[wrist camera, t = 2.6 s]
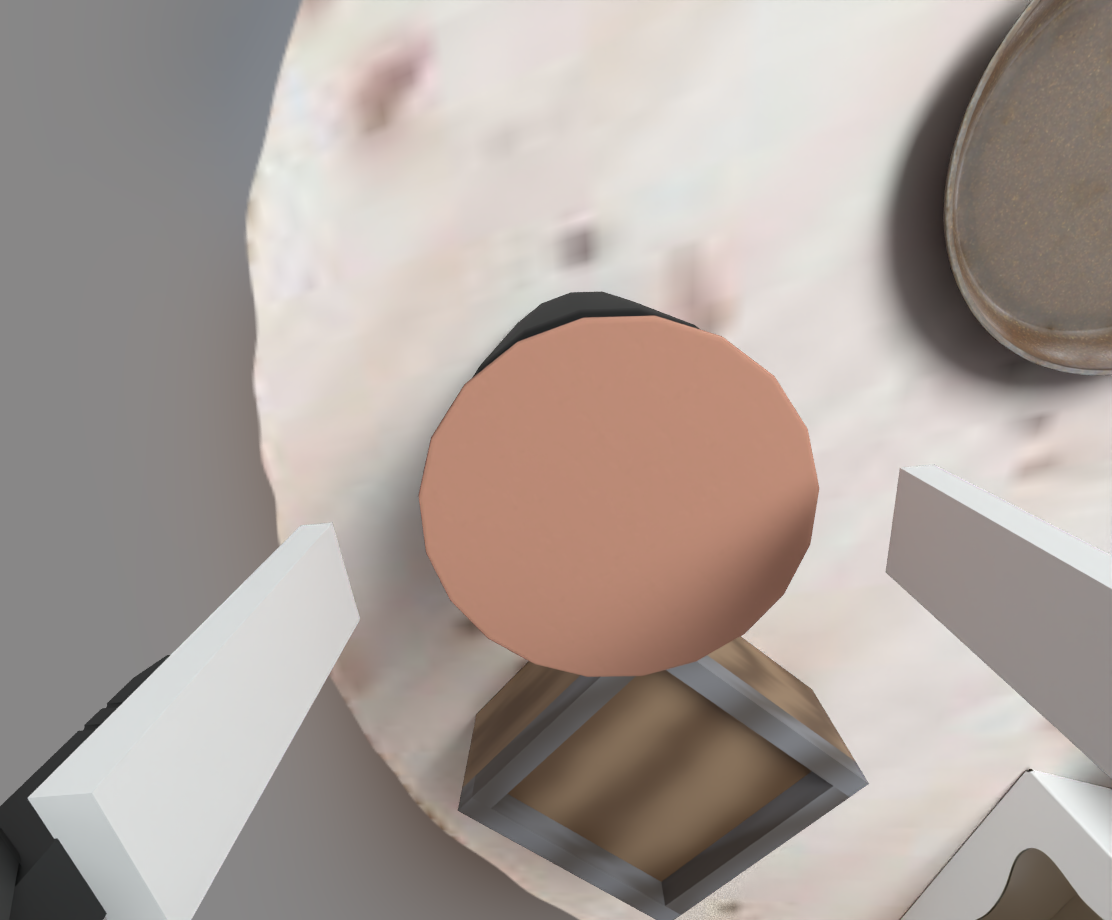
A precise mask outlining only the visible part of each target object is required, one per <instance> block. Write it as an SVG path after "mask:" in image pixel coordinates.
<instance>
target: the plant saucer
mask: <svg viewBox="0 0 1112 920" xmlns="http://www.w3.org/2000/svg"><path fill="white" fill-rule="evenodd" d="M943 220H944V235H945V243H946V250H947V255H948V259H949V263H950V267H951V270H952V273H953V276H954V279H955V281H956V284H957V286H958V288H959V290H960V292H961V294H962V296H963V299H964V300H965V302H966V304H967V305H968V307H969V309H970V310H971V312H972V313H973V315H974V316H975V317H976V319H977V320H978V321H979V322H980V324H981V325H982V326H983V327H984V328H985V329H986V330H987V332H988V333H989V334H990V335H992V336H993V337H994V338H995V339H996V340H997V341H998V342H1000V343H1001V344H1002V345H1004V346H1005V347H1006V348H1008V349H1009V350H1011V351H1012V352H1013V353H1015V354H1017V355H1019V356H1021V357H1022V358H1024V359H1026V360H1028V361H1030V362H1033V363H1035V364H1038V365H1040V366H1043V367H1046V368H1050V369H1054V370H1057V371H1061V372H1066V373H1073V374H1080V375H1112V0H1032V1H1031V2H1030V4H1029V5H1028V6H1027V8H1026V9H1025V10H1024V12H1023V13H1022V14H1021V16H1020V17H1019V18H1018V20H1017V21H1016V23H1015V24H1014V25H1013V27H1012V28H1011V30H1010V31H1009V32H1008V34H1007V35H1006V37H1005V38H1004V40H1003V41H1002V43H1001V45H1000V46H999V48H998V49H997V51H996V53H995V54H994V56H993V57H992V59H991V61H990V62H989V64H988V66H987V68H986V70H985V72H984V73H983V75H982V77H981V79H980V81H979V83H978V85H977V87H976V89H975V91H974V93H973V95H972V97H971V99H970V102H969V104H968V106H967V109H966V111H965V114H964V117H963V119H962V122H961V124H960V127H959V130H958V133H957V136H956V139H955V142H954V146H953V149H952V153H951V157H950V161H949V167H948V172H947V177H946V184H945V193H944V214H943Z"/></svg>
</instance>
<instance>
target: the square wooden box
mask: <svg viewBox="0 0 1112 920" xmlns="http://www.w3.org/2000/svg"><path fill="white" fill-rule="evenodd" d="M868 784H869V783H868V781H867V780H866V778H865V776H864V775H863V773H862V771H861V770H860V768H859V766H858V765H857V763H856V761H855V760H854V758H853V757H852V755H851V753H850V752H849V750H848V748H847V747H846V745H845V743H844V742H843V740H842V738H841V737H840V735H839V733H838V732H837V730H836V728H835V727H834V725H833V723H832V722H831V720H830V718H829V717H828V715H827V713H826V712H825V710H824V708H823V707H822V705H821V704H820V702H819V700H818V699H817V697H816V695H815V694H814V692H813V690H812V689H811V688H809V687H808V686H807V685H805V684H804V683H803V682H801V681H800V680H798V679H797V678H796V677H794V676H793V675H792V674H790V673H789V672H788V671H786V670H785V669H784V668H782V667H781V666H780V665H778V664H777V663H776V662H774V661H773V660H772V659H770V658H769V657H767V656H766V655H765V654H763V653H762V652H761V651H759V650H758V649H757V648H755V647H754V646H753V645H751V644H750V643H749V642H747V641H746V640H745V639H743V638H742V637H741V636H740V637H738V638H736V639H735V640H733V641H731V642H729V643H728V644H726V645H724V646H722V647H721V648H719V649H717V650H715V651H714V652H712V653H710V654H708V655H707V656H705V657H703V658H701V659H700V660H698V661H696V662H692V663H689V664H685V665H681V666H678V667H674V668H670V669H666V670H663V671H659V672H655V673H652V674H648V675H644V676H609V677H586V676H582V675H578V674H574V673H570V672H565V671H561V670H557V669H553V668H549V667H545V666H541V665H536V664H534V663H532V662H530V661H529V662H528V663H527V664H526V665H525V666H524V667H523V668H522V669H521V670H520V671H519V672H518V673H517V674H516V675H515V676H514V677H513V678H512V679H511V680H510V681H509V682H508V683H507V684H506V685H505V686H504V687H503V688H502V689H501V690H500V691H499V692H498V693H497V694H496V695H495V696H494V697H493V698H492V699H491V700H490V701H489V702H488V703H487V704H486V705H485V706H484V707H483V708H482V709H481V710H480V711H479V712H478V713H477V714H476V719H475V725H474V730H473V735H472V740H471V745H470V750H469V756H468V761H467V766H466V771H465V776H464V782H463V787H462V792H461V797H460V802H459V808H458V811H459V812H461V813H463V814H465V815H467V816H469V817H470V818H472V819H474V820H476V821H478V822H479V823H481V824H483V825H485V826H487V827H489V828H490V829H492V830H494V831H496V832H498V833H499V834H501V835H503V836H505V837H507V838H509V839H510V840H512V841H514V842H516V843H518V844H519V845H521V846H523V847H525V848H527V849H529V850H530V851H532V852H534V853H536V854H538V855H539V856H541V857H543V858H545V859H547V860H549V861H550V862H552V863H554V864H556V865H558V866H559V867H561V868H563V869H565V870H567V871H569V872H570V873H572V874H574V875H576V876H578V877H579V878H581V879H583V880H585V881H587V882H589V883H590V884H592V885H594V886H596V887H598V888H599V889H601V890H603V891H605V892H607V893H609V894H610V895H612V896H614V897H616V898H618V899H619V900H621V901H623V902H625V903H627V904H629V905H630V906H632V907H634V908H636V909H638V910H639V911H641V912H643V913H645V914H647V915H649V916H650V917H652V918H654V919H656V920H674V919H676V918H677V917H679V916H680V915H682V914H683V913H684V912H686V911H687V910H689V909H690V908H692V907H693V906H694V905H696V904H697V903H699V902H700V901H702V900H703V899H705V898H706V897H707V896H709V895H710V894H712V893H713V892H715V891H716V890H717V889H719V888H720V887H722V886H723V885H725V884H726V883H727V882H729V881H730V880H732V879H733V878H735V877H736V876H737V875H739V874H740V873H742V872H743V871H745V870H746V869H747V868H749V867H750V866H752V865H753V864H755V863H756V862H758V861H759V860H760V859H762V858H763V857H765V856H766V855H768V854H769V853H770V852H772V851H773V850H775V849H776V848H778V847H779V846H780V845H782V844H783V843H785V842H786V841H788V840H789V839H790V838H792V837H793V836H795V835H796V834H798V833H799V832H800V831H802V830H803V829H805V828H806V827H808V826H809V825H811V824H812V823H813V822H815V821H816V820H818V819H819V818H821V817H822V816H823V815H825V814H826V813H828V812H829V811H831V810H832V809H833V808H835V807H836V806H838V805H839V804H841V803H842V802H843V801H845V800H846V799H848V798H849V797H851V796H852V795H853V794H855V793H856V792H858V791H859V790H861V789H862V788H864V787H865V786H866V785H868Z"/></svg>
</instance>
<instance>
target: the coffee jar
mask: <svg viewBox="0 0 1112 920" xmlns="http://www.w3.org/2000/svg"><path fill="white" fill-rule="evenodd" d="M818 493H819V485H818V480H817V474H816V469H815V464H814V459H813V454H812V449H811V444H810V439H809V434H808V429H807V427H806V426H805V424H804V423H803V421H802V419H801V418H800V416H799V415H798V413H797V411H796V410H795V408H794V407H793V405H792V403H791V402H790V400H789V399H788V397H787V395H786V394H785V392H784V391H783V389H782V388H781V386H780V384H779V383H778V381H777V380H776V378H775V376H774V375H772V374H771V373H770V372H768V371H767V370H766V369H764V368H763V367H762V366H760V365H759V364H758V363H756V362H755V361H754V360H752V359H751V358H750V357H748V356H747V355H746V354H744V353H743V352H742V351H740V350H739V349H738V348H737V347H735V346H734V345H733V344H731V343H730V342H729V341H727V340H726V339H725V338H723V337H722V336H719V335H716V334H713V333H709V332H706V331H703V330H700V329H699V328H698V327H696V326H695V325H693V324H690V323H688V322H685V321H683V320H680V319H677V318H675V317H672V316H670V315H667V314H664V313H662V312H659V311H657V310H654V309H651V308H649V307H646V306H643V305H641V304H638V303H636V302H633V301H630V300H627V299H624V298H621V297H617V296H614V295H611V294H608V293H605V292H574V293H569V294H566V295H563V296H561V297H558V298H555V299H552V300H550V301H547V302H544V303H542V304H541V305H539V306H538V307H537V308H536V309H534V310H533V311H532V312H531V313H529V314H528V315H527V316H526V317H525V318H523V319H522V320H521V321H520V322H518V323H517V325H516V326H515V327H514V328H513V329H512V330H511V331H510V332H509V334H508V335H507V336H506V337H505V338H504V339H503V340H502V342H501V343H500V344H499V345H498V346H497V347H496V348H495V349H494V351H493V352H492V353H491V354H490V355H489V356H488V357H487V358H486V360H485V361H484V362H483V363H482V364H481V365H480V367H479V368H478V370H477V371H476V373H475V375H474V376H473V378H472V379H471V380H469V381H468V382H467V383H466V384H464V386H463V388H462V389H461V391H460V392H459V394H458V396H457V397H456V399H455V400H454V402H453V404H452V405H451V407H450V408H449V410H448V412H447V413H446V415H445V416H444V418H443V419H442V421H441V423H440V424H439V426H438V427H437V429H436V431H435V432H434V434H433V435H432V437H431V440H430V445H429V449H428V454H427V459H426V463H425V468H424V472H423V477H422V481H421V486H420V491H419V503H420V510H421V518H422V525H423V533H424V541H425V548H426V553H427V555H428V557H429V559H430V561H431V563H432V565H433V567H434V569H435V571H436V573H437V575H438V577H439V579H440V581H441V583H442V585H443V587H444V589H445V591H446V593H447V595H448V597H449V599H450V600H451V601H452V602H453V604H454V605H455V606H456V607H457V608H458V609H459V610H460V611H461V612H462V613H463V614H464V615H465V616H466V617H467V618H468V619H469V620H470V621H471V622H472V623H473V624H474V625H475V626H476V627H477V628H478V629H479V630H480V631H481V632H482V633H483V634H484V635H485V636H486V637H487V638H488V639H490V640H492V641H494V642H496V643H497V644H499V645H501V646H503V647H505V648H507V649H508V650H510V651H512V652H514V653H516V654H517V655H519V656H521V657H523V658H525V659H526V660H528V661H530V662H532V663H534V664H536V665H541V666H545V667H549V668H553V669H557V670H561V671H565V672H570V673H574V674H578V675H582V676H586V677H609V676H644V675H648V674H652V673H655V672H659V671H663V670H666V669H670V668H674V667H678V666H681V665H685V664H689V663H692V662H696V661H698V660H700V659H701V658H703V657H705V656H707V655H708V654H710V653H712V652H714V651H715V650H717V649H719V648H721V647H722V646H724V645H726V644H728V643H729V642H731V641H733V640H735V639H736V638H738V637H740V636H742V635H743V634H745V633H746V632H747V631H748V630H749V629H750V628H751V627H752V626H753V625H754V624H755V623H756V622H757V621H758V620H759V619H760V618H761V617H762V616H763V615H764V614H765V613H766V612H767V611H768V610H769V609H770V608H771V607H772V606H773V605H774V604H775V603H776V602H777V601H778V600H779V599H780V598H781V597H782V596H783V595H784V593H785V591H786V589H787V587H788V585H789V584H790V582H791V580H792V578H793V576H794V574H795V572H796V570H797V568H798V566H799V565H800V563H801V561H802V559H803V557H804V555H805V553H806V551H807V549H808V548H809V546H810V542H811V536H812V530H813V524H814V517H815V511H816V505H817V499H818Z"/></svg>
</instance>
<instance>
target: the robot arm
mask: <svg viewBox="0 0 1112 920" xmlns="http://www.w3.org/2000/svg"><path fill="white" fill-rule="evenodd" d="M886 573H887V574H888V575H889V576H890V577H891V578H893V579H894V580H895V581H896V582H897V583H898V584H899V585H900V586H901V587H902V588H903V589H905V590H906V591H907V592H908V593H909V594H910V595H911V596H912V597H913V598H914V599H916V600H917V601H918V602H919V603H920V604H921V605H922V606H923V607H924V608H925V609H926V610H928V611H929V612H930V613H931V614H932V615H933V616H934V617H935V618H936V619H937V620H938V621H940V622H941V623H942V624H943V625H944V626H945V627H946V628H947V629H948V630H949V631H951V632H952V633H953V634H954V635H955V636H956V637H957V638H958V639H959V640H960V641H961V642H963V643H964V644H965V645H966V646H967V647H968V648H969V649H970V650H971V651H972V652H973V653H975V654H976V655H977V656H978V657H979V658H980V659H981V660H982V661H983V662H984V663H986V664H987V665H988V666H989V667H990V668H991V669H992V670H993V671H994V672H995V673H996V674H998V675H999V676H1000V677H1001V678H1002V679H1003V680H1004V681H1005V682H1006V683H1007V684H1008V685H1010V686H1011V687H1012V688H1013V689H1014V690H1015V691H1016V692H1017V693H1018V694H1019V695H1021V696H1022V697H1023V698H1024V699H1025V700H1026V701H1027V702H1028V703H1029V704H1030V705H1031V706H1033V707H1034V708H1035V709H1036V710H1037V711H1038V712H1039V713H1040V714H1041V715H1042V716H1044V717H1045V718H1046V719H1047V720H1048V721H1049V722H1050V723H1051V724H1052V725H1053V726H1054V727H1056V728H1057V729H1058V730H1059V731H1060V732H1061V733H1062V734H1063V735H1064V736H1065V737H1066V738H1068V739H1069V740H1070V741H1071V742H1072V743H1073V744H1074V745H1075V746H1076V747H1077V748H1079V749H1080V750H1081V751H1082V752H1083V753H1084V754H1085V755H1086V756H1087V757H1088V758H1089V759H1091V760H1092V761H1093V762H1094V763H1095V764H1096V765H1097V766H1098V767H1099V768H1100V769H1101V770H1103V771H1104V772H1105V773H1106V774H1107V775H1108V776H1109V777H1110V778H1111V779H1112V555H1111V554H1109V553H1107V552H1105V551H1103V550H1101V549H1099V548H1097V547H1095V546H1093V545H1091V544H1089V543H1087V542H1085V541H1083V540H1081V539H1079V538H1077V537H1075V536H1074V535H1072V534H1070V533H1068V532H1066V531H1064V530H1062V529H1060V528H1058V527H1056V526H1054V525H1052V524H1050V523H1048V522H1046V521H1044V520H1042V519H1040V518H1038V517H1036V516H1034V515H1032V514H1031V513H1029V512H1027V511H1025V510H1023V509H1021V508H1019V507H1017V506H1015V505H1013V504H1011V503H1009V502H1007V501H1005V500H1003V499H1001V498H999V497H997V496H995V495H993V494H991V493H989V492H987V491H986V490H984V489H982V488H980V487H978V486H976V485H974V484H972V483H970V482H968V481H966V480H964V479H962V478H960V477H958V476H956V475H954V474H952V473H950V472H948V471H946V470H944V469H943V468H941V467H939V466H937V465H935V464H934V465H924V466H914V467H903V468H900V472H899V479H898V486H897V493H896V501H895V508H894V515H893V522H892V530H891V537H890V544H889V551H888V559H887V566H886ZM359 620H360V617H359V613H358V610H357V606H356V603H355V599H354V596H353V592H352V589H351V585H350V582H349V578H348V575H347V572H346V568H345V565H344V561H343V558H342V554H341V551H340V547H339V544H338V540H337V537H336V533H335V530H334V527H333V523H322V524H312V525H302V526H300V527H299V528H298V529H297V530H296V531H295V532H294V533H293V534H292V535H291V536H290V537H289V538H288V539H287V540H286V541H285V542H284V543H283V544H282V545H281V546H280V547H279V548H278V549H277V550H276V551H275V552H274V553H273V554H272V555H271V556H270V557H269V558H268V559H267V560H266V561H265V562H264V563H263V564H262V565H261V566H260V567H259V568H258V569H257V570H256V571H255V572H254V573H253V574H252V575H251V576H250V577H249V578H248V579H247V580H246V581H245V582H244V583H243V584H242V585H241V586H240V587H239V588H238V589H237V590H236V591H235V592H234V593H233V594H232V595H231V596H230V597H229V598H228V599H227V600H226V601H225V602H224V603H223V604H221V605H220V607H218V609H216V611H214V613H212V614H211V615H210V616H209V618H207V620H206V621H205V622H203V624H201V626H199V627H198V629H197V630H195V631H194V632H193V633H192V634H191V635H190V636H189V638H187V640H185V641H184V642H183V643H182V644H181V645H180V647H178V648H177V649H176V650H175V651H174V652H173V653H172V654H171V655H167V656H165V657H164V658H162V659H161V660H159V661H158V662H156V663H155V664H153V665H152V666H151V667H149V668H148V669H146V670H145V671H143V672H142V673H140V674H139V675H137V676H136V677H134V678H133V679H132V680H131V681H130V682H129V683H128V684H127V685H126V686H125V687H124V688H123V689H122V690H120V691H119V692H118V693H117V694H116V696H114V697H113V698H112V699H111V700H110V701H109V702H108V703H107V707H106V708H103V709H101V710H100V711H99V712H98V713H97V714H96V715H95V716H94V717H93V718H92V719H90V720H89V721H88V722H87V723H86V724H85V728H84V730H83V731H78V732H77V733H76V734H75V735H74V736H73V737H72V738H71V739H70V740H69V741H68V742H67V743H66V744H64V745H63V746H62V747H61V748H60V749H59V750H58V751H57V752H56V753H55V754H54V755H53V756H52V757H51V758H50V759H49V760H48V761H47V762H46V763H45V764H44V765H43V766H42V767H41V768H40V769H38V770H37V772H35V773H34V774H33V775H32V776H31V777H30V778H29V779H28V780H27V781H26V782H25V783H24V784H23V785H22V786H21V787H20V788H19V789H18V790H17V791H16V792H15V793H14V794H13V795H12V796H10V797H9V798H8V799H7V800H6V801H5V802H4V803H3V804H2V805H1V806H0V920H103V919H104V917H105V916H106V918H107V919H108V920H191V919H192V917H193V915H194V914H195V912H196V910H197V908H198V906H199V905H200V903H201V901H202V899H203V898H204V896H205V894H206V892H207V890H208V889H209V887H210V885H211V883H212V882H213V880H214V878H215V876H216V874H217V873H218V871H219V869H220V867H221V866H222V864H223V862H224V860H225V858H226V857H227V855H228V853H229V851H230V850H231V848H232V846H233V844H234V842H235V841H236V839H237V837H238V835H239V833H240V832H241V830H242V828H243V826H244V825H245V823H246V821H247V819H248V818H249V815H250V814H251V812H252V810H253V809H254V807H255V805H256V803H257V802H258V800H259V798H260V796H261V794H262V793H263V791H264V789H265V787H266V786H267V784H268V782H269V780H270V778H271V777H272V775H273V773H274V771H275V770H276V768H277V766H278V764H279V762H280V761H281V759H282V757H283V755H284V754H285V752H286V750H287V748H288V746H289V745H290V743H291V741H292V739H293V738H294V736H295V734H296V732H297V730H298V729H299V727H300V725H301V723H302V722H303V720H304V718H305V716H306V714H307V713H308V711H309V709H310V707H311V706H312V704H313V702H314V700H315V698H316V697H317V695H318V693H319V691H320V690H321V688H322V686H323V684H324V682H325V681H326V679H327V677H328V675H329V674H330V672H331V670H332V668H333V666H334V665H335V663H336V661H337V659H338V658H339V656H340V654H341V652H342V650H343V649H344V647H345V645H346V643H347V642H348V640H349V638H350V636H351V634H352V633H353V631H354V629H355V627H356V626H357V624H358V622H359Z"/></svg>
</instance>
